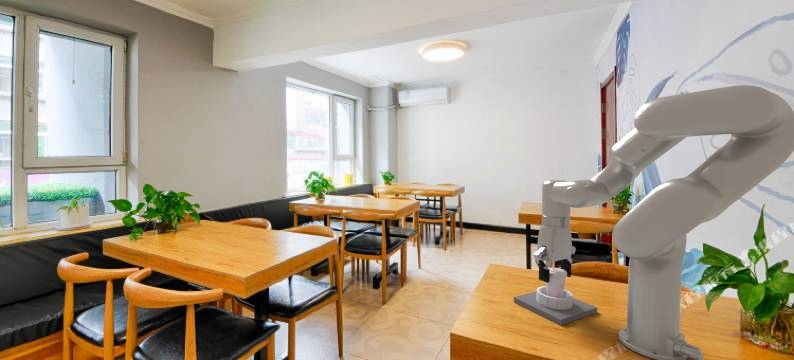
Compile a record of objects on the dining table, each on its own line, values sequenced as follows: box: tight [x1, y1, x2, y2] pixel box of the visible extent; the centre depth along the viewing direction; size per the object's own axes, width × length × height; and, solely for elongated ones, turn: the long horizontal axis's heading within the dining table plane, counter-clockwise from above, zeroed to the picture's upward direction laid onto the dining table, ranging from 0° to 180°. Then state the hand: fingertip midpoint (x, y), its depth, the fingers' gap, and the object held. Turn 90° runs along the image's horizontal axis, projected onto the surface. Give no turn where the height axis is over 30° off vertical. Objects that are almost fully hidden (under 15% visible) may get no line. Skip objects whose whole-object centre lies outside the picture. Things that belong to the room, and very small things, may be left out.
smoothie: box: [545, 261, 567, 298], centre depth 93 cm, size 6×6×14 cm
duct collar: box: [513, 285, 598, 326], centre depth 93 cm, size 16×16×4 cm
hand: (555, 278), depth 93 cm, fingers open, 9 cm apart
